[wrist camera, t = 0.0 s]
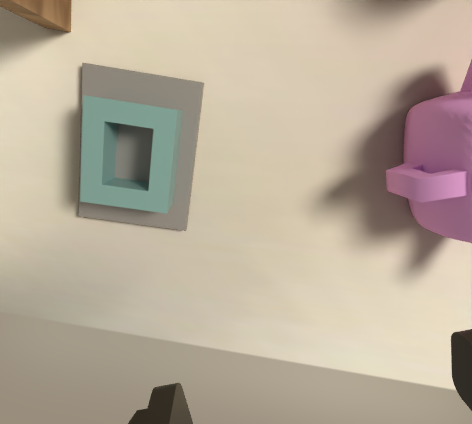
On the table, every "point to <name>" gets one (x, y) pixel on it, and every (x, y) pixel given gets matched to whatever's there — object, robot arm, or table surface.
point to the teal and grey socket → (137, 146)
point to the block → (42, 12)
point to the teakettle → (438, 163)
